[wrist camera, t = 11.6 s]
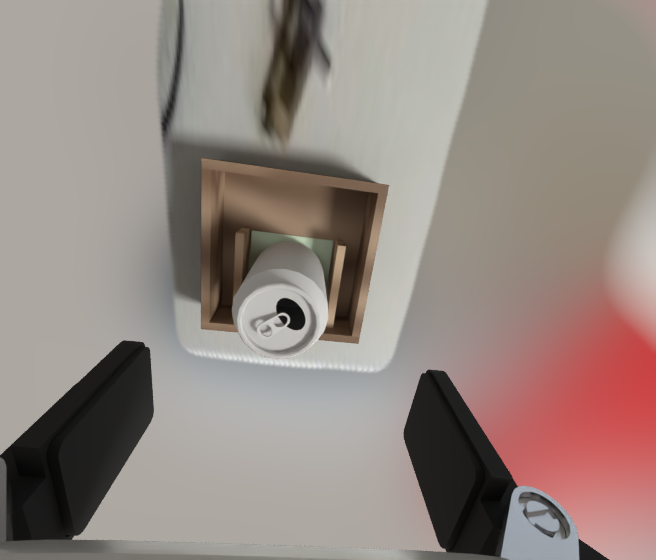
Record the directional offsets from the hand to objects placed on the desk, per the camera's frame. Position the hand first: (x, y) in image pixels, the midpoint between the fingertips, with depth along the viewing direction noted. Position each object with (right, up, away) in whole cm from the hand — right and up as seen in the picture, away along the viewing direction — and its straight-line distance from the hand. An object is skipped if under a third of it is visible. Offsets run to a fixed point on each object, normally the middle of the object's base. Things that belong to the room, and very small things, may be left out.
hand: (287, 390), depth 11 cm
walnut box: (-3, +7, +23) cm, 24 cm away
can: (-3, +5, +23) cm, 24 cm away
